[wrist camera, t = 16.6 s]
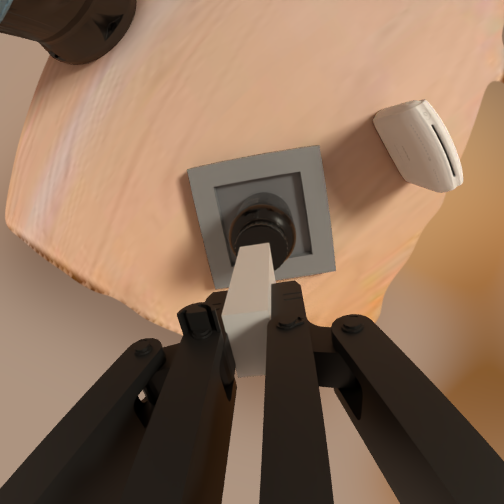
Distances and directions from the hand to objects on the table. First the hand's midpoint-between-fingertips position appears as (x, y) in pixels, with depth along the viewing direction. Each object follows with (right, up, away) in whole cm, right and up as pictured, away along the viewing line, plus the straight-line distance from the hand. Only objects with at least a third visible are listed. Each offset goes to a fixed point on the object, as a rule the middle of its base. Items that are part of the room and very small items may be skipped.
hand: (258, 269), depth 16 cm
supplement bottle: (+1, +5, +23) cm, 24 cm away
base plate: (+1, +5, +24) cm, 25 cm away
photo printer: (+19, +15, +20) cm, 31 cm away
